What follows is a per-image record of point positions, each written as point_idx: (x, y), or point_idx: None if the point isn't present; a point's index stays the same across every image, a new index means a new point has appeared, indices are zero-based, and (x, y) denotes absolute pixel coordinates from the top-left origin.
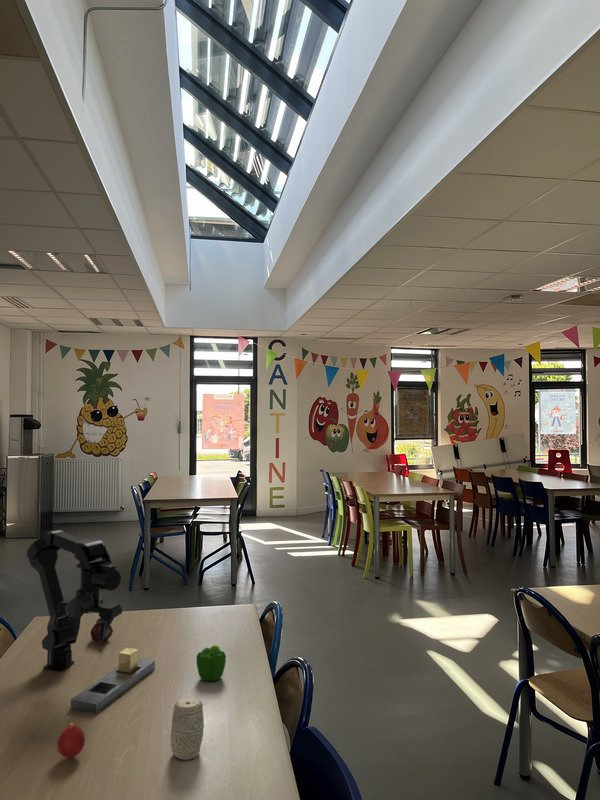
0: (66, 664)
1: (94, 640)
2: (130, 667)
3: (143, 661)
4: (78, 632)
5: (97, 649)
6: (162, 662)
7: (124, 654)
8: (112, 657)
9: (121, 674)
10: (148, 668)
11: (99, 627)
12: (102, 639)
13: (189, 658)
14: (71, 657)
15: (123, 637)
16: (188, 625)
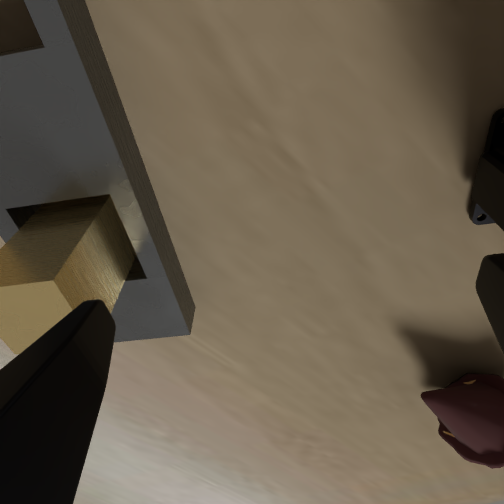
0: (485, 162)
1: (489, 376)
2: (12, 240)
3: None
4: (485, 311)
5: (438, 340)
6: (119, 358)
7: (7, 282)
8: (326, 320)
9: (53, 192)
10: None
11: (497, 435)
12: (87, 307)
13: None
14: (489, 214)
15: (399, 419)
16: (264, 497)
